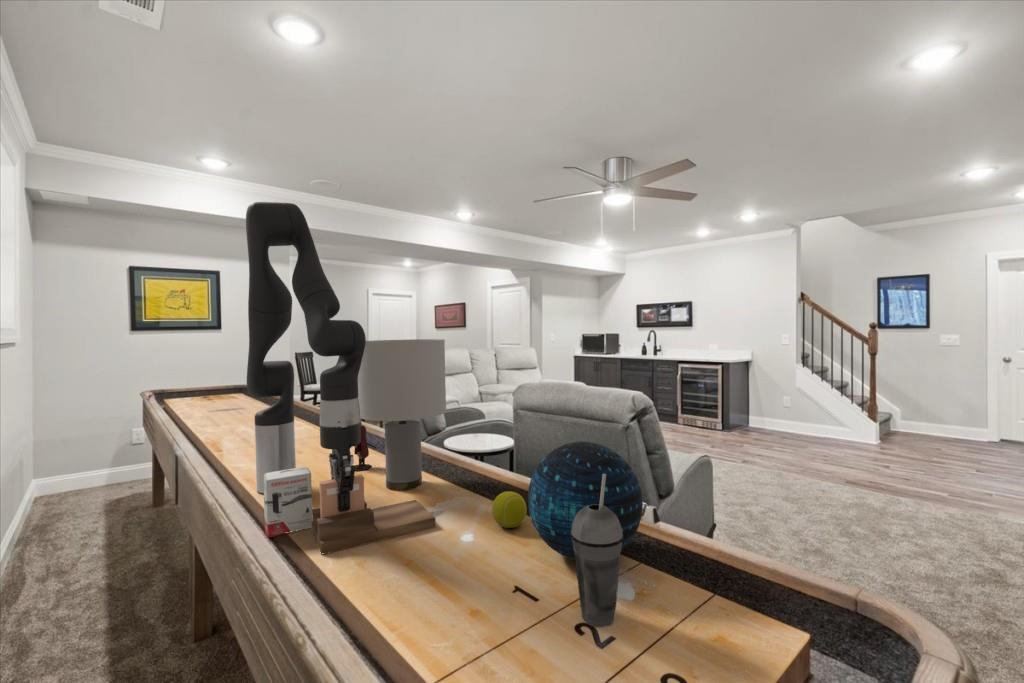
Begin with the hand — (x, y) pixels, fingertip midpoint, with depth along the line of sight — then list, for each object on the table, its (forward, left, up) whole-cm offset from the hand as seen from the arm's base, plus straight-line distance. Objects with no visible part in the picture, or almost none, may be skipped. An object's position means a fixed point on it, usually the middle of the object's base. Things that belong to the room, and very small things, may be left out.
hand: (342, 508), depth 93 cm
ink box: (-10, -9, -6) cm, 14 cm away
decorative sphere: (+32, +35, -6) cm, 48 cm away
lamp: (-24, +20, -6) cm, 32 cm away
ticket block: (0, +6, -6) cm, 8 cm away
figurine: (-46, +14, -6) cm, 48 cm away
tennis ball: (+14, +30, -6) cm, 34 cm away
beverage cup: (+47, +25, -6) cm, 54 cm away
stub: (0, 0, -3) cm, 3 cm away
